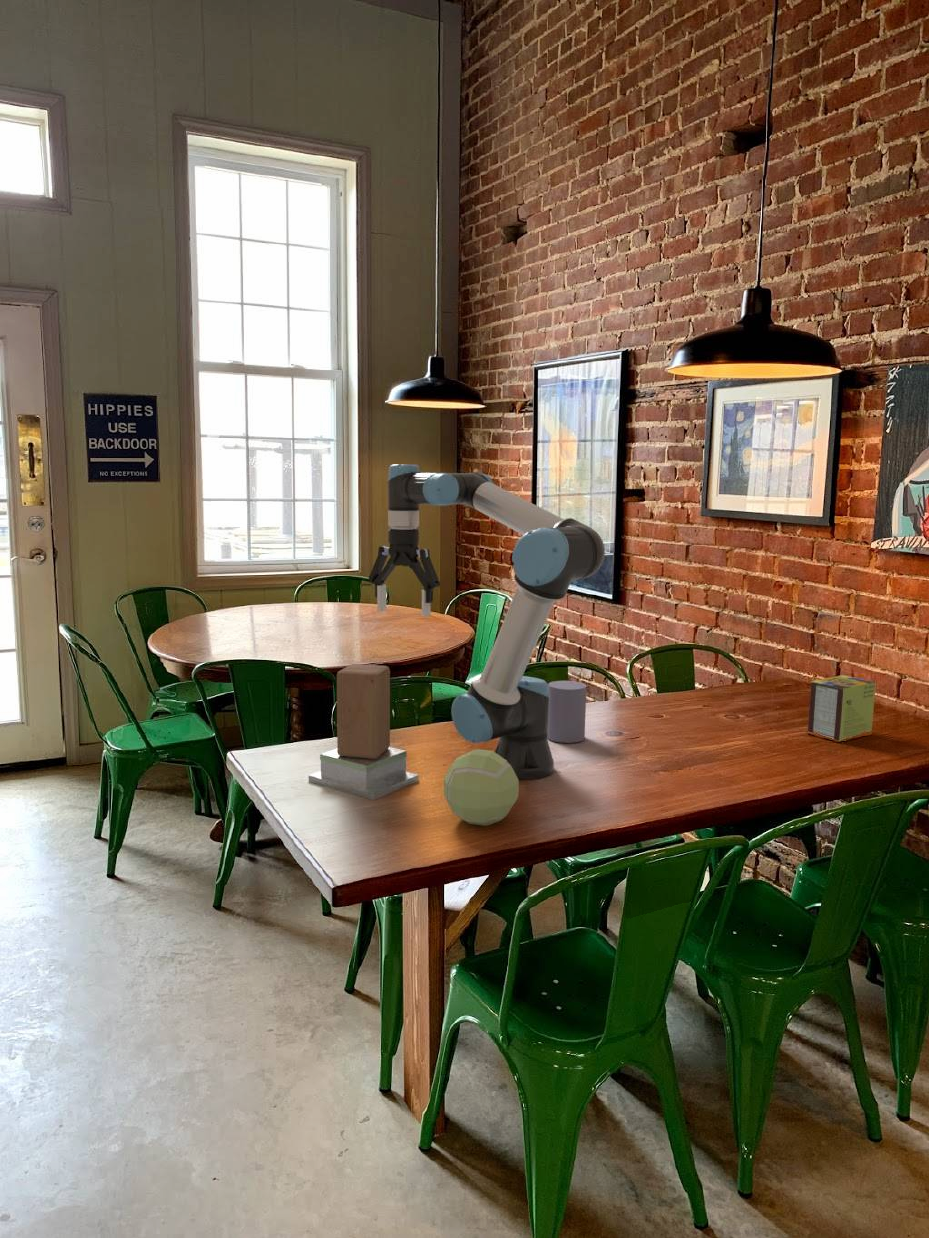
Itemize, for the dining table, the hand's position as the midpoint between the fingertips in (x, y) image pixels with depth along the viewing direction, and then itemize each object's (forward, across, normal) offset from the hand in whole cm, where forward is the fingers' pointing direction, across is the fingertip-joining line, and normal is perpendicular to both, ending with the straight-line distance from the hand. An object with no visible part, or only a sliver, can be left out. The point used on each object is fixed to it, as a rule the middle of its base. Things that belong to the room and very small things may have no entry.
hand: (403, 613), depth 232 cm
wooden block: (+30, -4, +21) cm, 37 cm away
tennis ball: (+37, -40, +27) cm, 61 cm away
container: (+37, -28, -38) cm, 59 cm away
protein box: (+37, -89, -85) cm, 129 cm away
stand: (+37, -4, +21) cm, 42 cm away
